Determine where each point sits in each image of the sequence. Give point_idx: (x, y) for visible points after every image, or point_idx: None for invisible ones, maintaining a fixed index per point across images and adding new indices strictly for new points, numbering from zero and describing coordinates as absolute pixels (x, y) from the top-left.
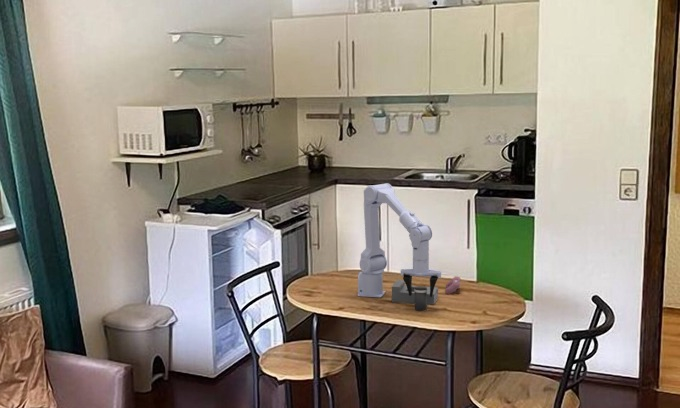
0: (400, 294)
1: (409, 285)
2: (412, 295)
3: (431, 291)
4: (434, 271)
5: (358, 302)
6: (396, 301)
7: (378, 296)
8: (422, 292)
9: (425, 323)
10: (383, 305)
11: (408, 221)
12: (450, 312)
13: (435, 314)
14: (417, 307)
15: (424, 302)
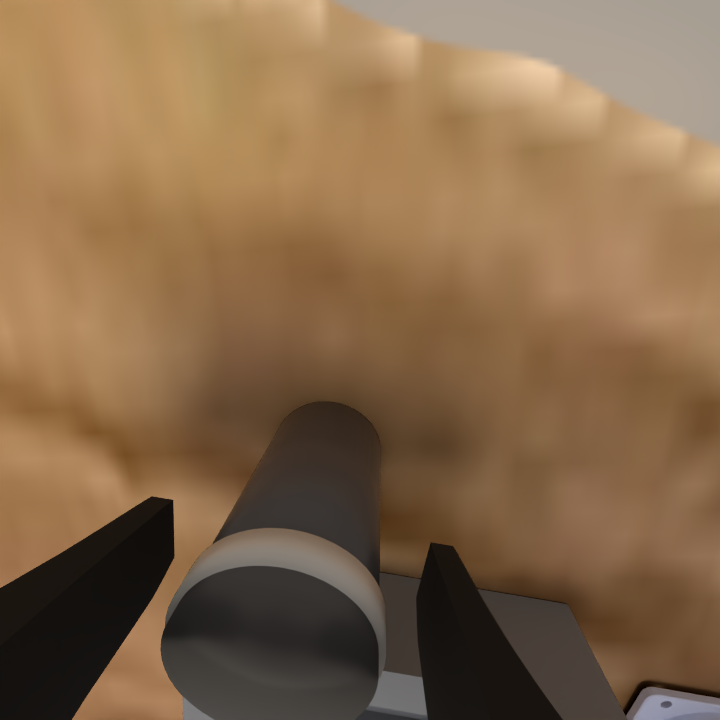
0: None
1: (496, 716)
2: (402, 646)
3: (85, 549)
4: None
5: None
6: (531, 604)
7: (671, 697)
8: (242, 534)
9: None
10: (654, 528)
11: None
12: (65, 375)
13: (181, 310)
14: (351, 423)
15: (268, 454)
